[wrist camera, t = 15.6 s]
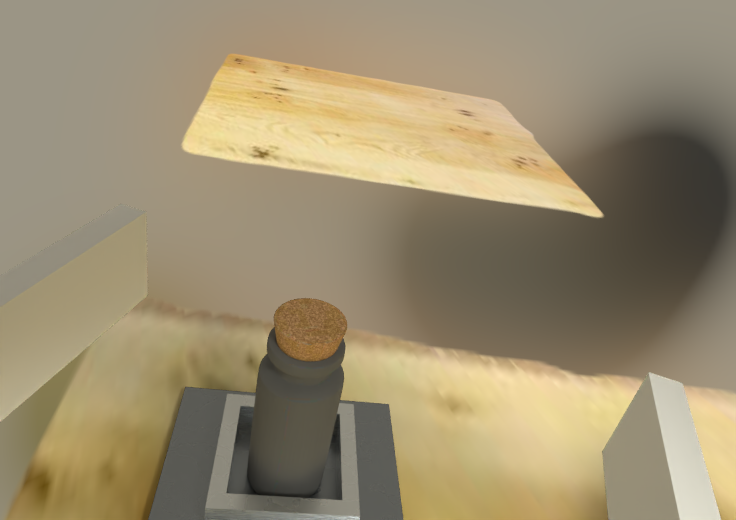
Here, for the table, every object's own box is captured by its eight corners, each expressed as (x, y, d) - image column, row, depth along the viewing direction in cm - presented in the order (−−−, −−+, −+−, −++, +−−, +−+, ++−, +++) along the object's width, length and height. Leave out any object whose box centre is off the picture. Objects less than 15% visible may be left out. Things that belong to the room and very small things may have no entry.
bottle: (323, 444, 48) (354, 297, 40) (322, 508, 43) (358, 354, 35) (251, 438, 47) (268, 287, 39) (242, 503, 42) (260, 344, 34)
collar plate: (386, 413, 54) (394, 384, 52) (407, 589, 40) (419, 558, 38) (185, 396, 51) (186, 365, 49) (134, 579, 37) (133, 545, 35)
